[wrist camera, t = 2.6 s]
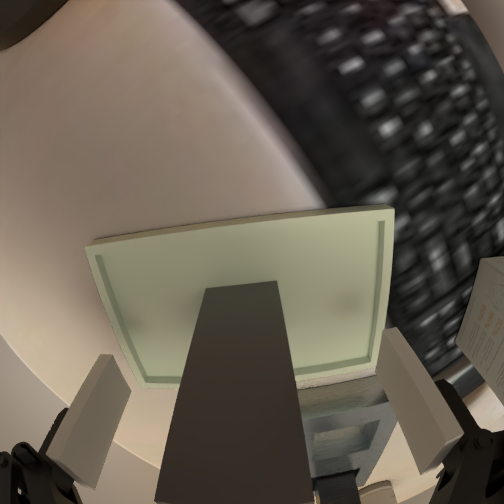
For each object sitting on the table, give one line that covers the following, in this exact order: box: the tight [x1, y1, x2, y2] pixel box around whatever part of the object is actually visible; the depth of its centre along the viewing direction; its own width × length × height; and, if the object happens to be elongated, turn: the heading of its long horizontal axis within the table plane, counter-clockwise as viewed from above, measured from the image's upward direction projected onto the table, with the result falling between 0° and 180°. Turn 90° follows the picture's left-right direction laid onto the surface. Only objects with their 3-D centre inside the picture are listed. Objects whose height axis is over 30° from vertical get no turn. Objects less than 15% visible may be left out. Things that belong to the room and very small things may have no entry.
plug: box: [154, 280, 315, 504], centre depth 10 cm, size 4×4×14 cm
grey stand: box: [297, 375, 398, 504], centre depth 16 cm, size 20×9×15 cm, turn 7°
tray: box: [84, 204, 394, 389], centre depth 16 cm, size 11×17×1 cm, turn 97°
